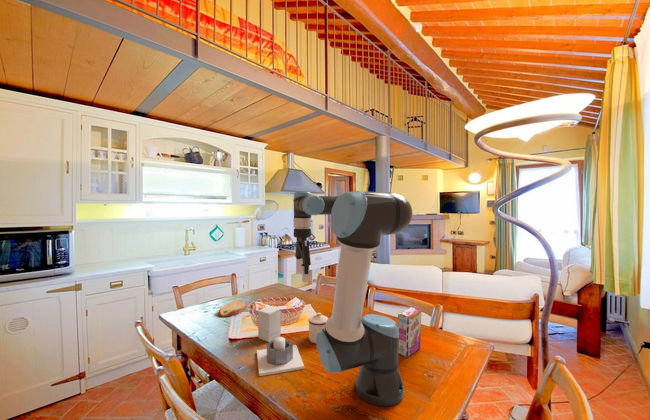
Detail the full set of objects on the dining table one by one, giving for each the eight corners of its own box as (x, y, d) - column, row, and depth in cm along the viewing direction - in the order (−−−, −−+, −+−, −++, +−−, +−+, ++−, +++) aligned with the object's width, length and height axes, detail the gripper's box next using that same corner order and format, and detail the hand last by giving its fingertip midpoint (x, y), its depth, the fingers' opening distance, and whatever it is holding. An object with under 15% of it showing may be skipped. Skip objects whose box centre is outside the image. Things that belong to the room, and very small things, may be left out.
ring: (294, 362, 102) (294, 349, 102) (267, 367, 100) (267, 353, 100) (289, 349, 112) (289, 337, 111) (265, 353, 109) (265, 340, 109)
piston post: (304, 368, 100) (304, 347, 100) (259, 376, 96) (259, 353, 96) (296, 347, 116) (296, 328, 115) (257, 352, 111) (257, 333, 111)
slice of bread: (242, 302, 169) (242, 296, 169) (253, 311, 155) (253, 305, 155) (211, 309, 158) (211, 302, 158) (220, 319, 144) (220, 312, 144)
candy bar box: (408, 359, 107) (408, 317, 107) (396, 354, 111) (397, 313, 110) (421, 348, 115) (421, 309, 115) (410, 344, 118) (410, 306, 118)
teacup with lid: (322, 346, 116) (322, 319, 116) (304, 340, 121) (304, 314, 121) (335, 334, 127) (335, 309, 126) (318, 330, 131) (318, 306, 131)
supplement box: (281, 336, 125) (281, 308, 125) (268, 342, 119) (268, 313, 119) (269, 331, 129) (269, 305, 129) (257, 338, 123) (257, 310, 123)
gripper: (318, 230, 107) (318, 284, 107) (304, 225, 131) (304, 270, 131) (299, 230, 105) (299, 286, 105) (289, 225, 128) (289, 271, 129)
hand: (302, 277), depth 118 cm, fingers open, 13 cm apart
